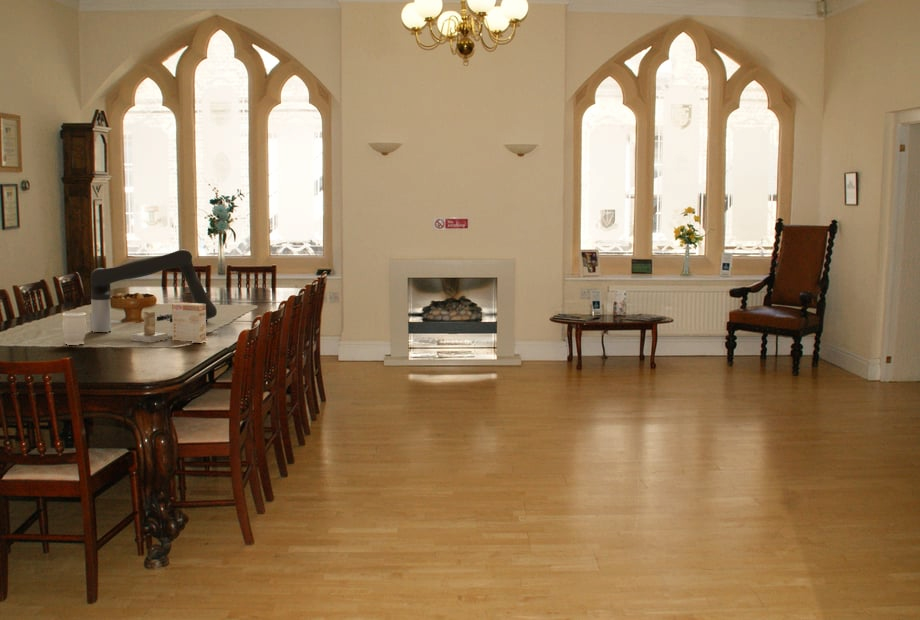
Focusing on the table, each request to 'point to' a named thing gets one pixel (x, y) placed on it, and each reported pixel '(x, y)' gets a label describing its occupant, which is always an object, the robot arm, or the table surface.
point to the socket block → (149, 337)
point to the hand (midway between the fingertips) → (163, 319)
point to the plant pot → (189, 299)
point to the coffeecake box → (189, 322)
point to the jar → (74, 327)
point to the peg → (149, 323)
